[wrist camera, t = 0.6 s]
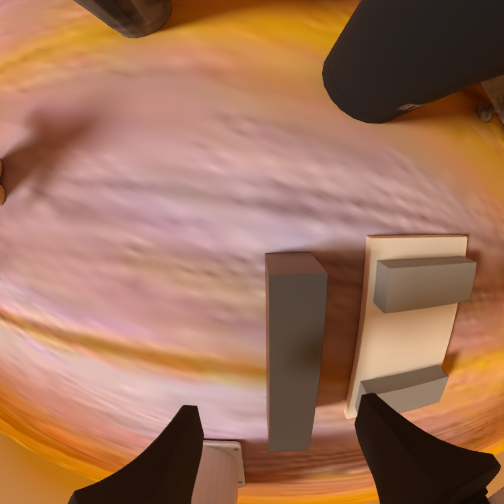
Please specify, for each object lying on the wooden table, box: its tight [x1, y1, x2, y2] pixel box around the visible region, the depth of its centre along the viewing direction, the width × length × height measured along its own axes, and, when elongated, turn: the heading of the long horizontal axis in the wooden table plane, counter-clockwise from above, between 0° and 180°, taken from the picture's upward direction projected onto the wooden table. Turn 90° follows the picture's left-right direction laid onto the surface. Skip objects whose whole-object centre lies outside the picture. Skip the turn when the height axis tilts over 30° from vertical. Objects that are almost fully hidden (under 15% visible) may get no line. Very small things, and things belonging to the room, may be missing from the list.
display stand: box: [344, 235, 477, 419], centre depth 19 cm, size 16×9×3 cm, turn 2°
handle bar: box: [265, 252, 328, 452], centre depth 18 cm, size 14×3×5 cm, turn 1°
